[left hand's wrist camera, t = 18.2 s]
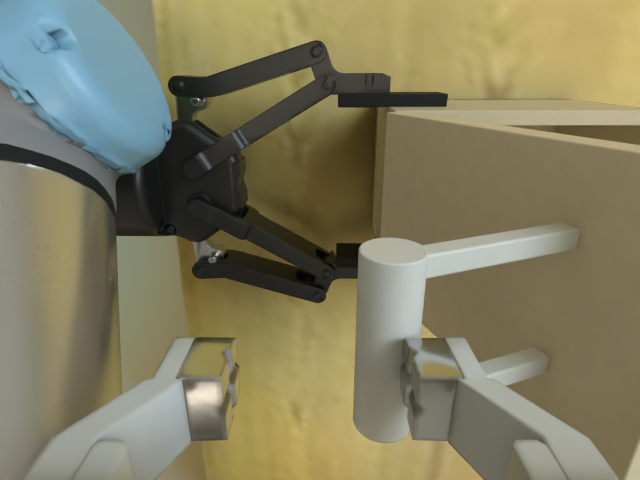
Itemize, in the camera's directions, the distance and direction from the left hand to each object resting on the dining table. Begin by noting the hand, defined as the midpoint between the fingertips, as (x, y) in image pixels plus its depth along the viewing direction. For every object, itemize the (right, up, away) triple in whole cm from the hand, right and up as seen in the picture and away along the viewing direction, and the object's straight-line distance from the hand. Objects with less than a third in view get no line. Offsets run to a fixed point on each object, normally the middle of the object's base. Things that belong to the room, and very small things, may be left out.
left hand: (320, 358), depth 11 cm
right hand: (+8, +7, +17) cm, 20 cm away
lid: (+7, +3, +7) cm, 10 cm away
